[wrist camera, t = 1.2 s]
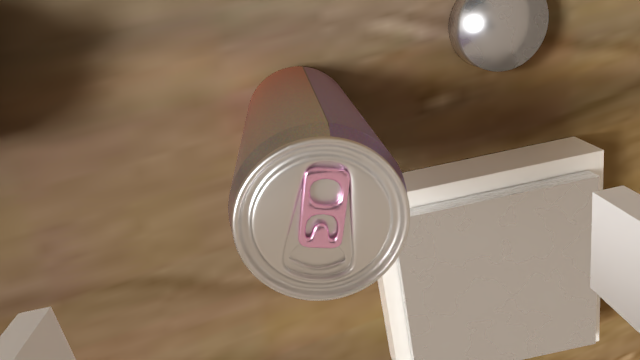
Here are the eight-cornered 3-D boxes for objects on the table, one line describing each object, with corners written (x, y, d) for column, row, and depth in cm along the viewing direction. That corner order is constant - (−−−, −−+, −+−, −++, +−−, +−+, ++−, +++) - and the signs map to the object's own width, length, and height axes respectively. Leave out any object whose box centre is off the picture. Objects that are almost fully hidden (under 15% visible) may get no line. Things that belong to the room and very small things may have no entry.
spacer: (443, -14, 27) (455, -15, 26) (529, -31, 28) (547, -34, 26) (451, 74, 29) (463, 79, 27) (531, 57, 29) (549, 61, 27)
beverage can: (353, 69, 28) (432, 139, 14) (342, 165, 30) (401, 309, 16) (250, 60, 28) (228, 124, 14) (245, 159, 30) (222, 304, 16)
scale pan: (389, 212, 28) (393, 220, 27) (588, 170, 29) (599, 176, 28) (413, 371, 33) (417, 382, 32) (586, 333, 33) (595, 343, 32)
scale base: (360, 181, 31) (369, 200, 28) (577, 135, 31) (607, 149, 28) (390, 354, 36) (400, 384, 33) (576, 313, 36) (601, 340, 33)
